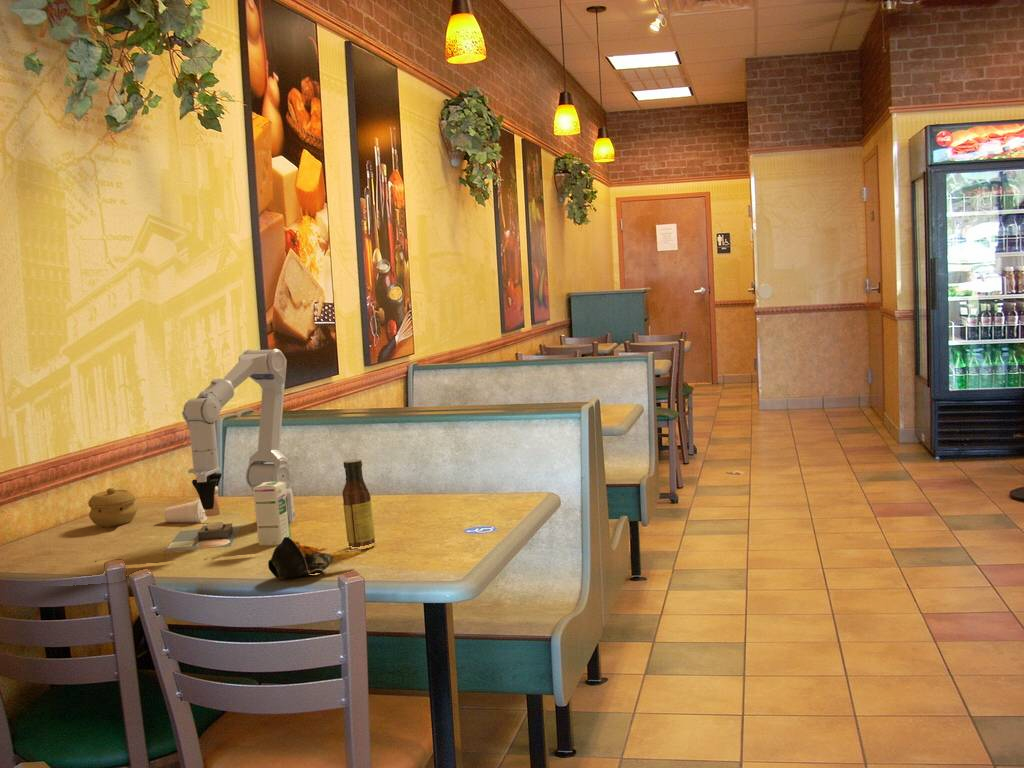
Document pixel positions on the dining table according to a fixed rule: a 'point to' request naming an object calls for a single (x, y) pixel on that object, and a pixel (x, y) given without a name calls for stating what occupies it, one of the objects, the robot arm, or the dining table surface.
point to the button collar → (215, 533)
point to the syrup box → (271, 512)
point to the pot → (112, 508)
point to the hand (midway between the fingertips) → (209, 507)
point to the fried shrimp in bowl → (303, 559)
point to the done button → (215, 526)
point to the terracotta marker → (216, 505)
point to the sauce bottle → (357, 506)
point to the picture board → (190, 541)
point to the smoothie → (186, 513)
